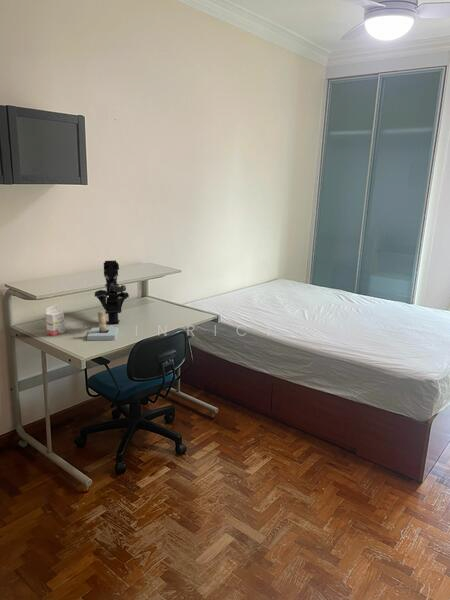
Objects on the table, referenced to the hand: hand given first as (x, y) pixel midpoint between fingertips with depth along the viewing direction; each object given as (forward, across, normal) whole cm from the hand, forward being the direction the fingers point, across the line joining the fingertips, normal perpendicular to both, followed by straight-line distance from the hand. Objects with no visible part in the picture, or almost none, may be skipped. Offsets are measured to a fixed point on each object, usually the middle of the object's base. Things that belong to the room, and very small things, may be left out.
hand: (112, 309), depth 245 cm
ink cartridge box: (+11, -22, +22) cm, 33 cm away
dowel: (+14, -6, 0) cm, 15 cm away
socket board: (+14, -6, 0) cm, 16 cm away
